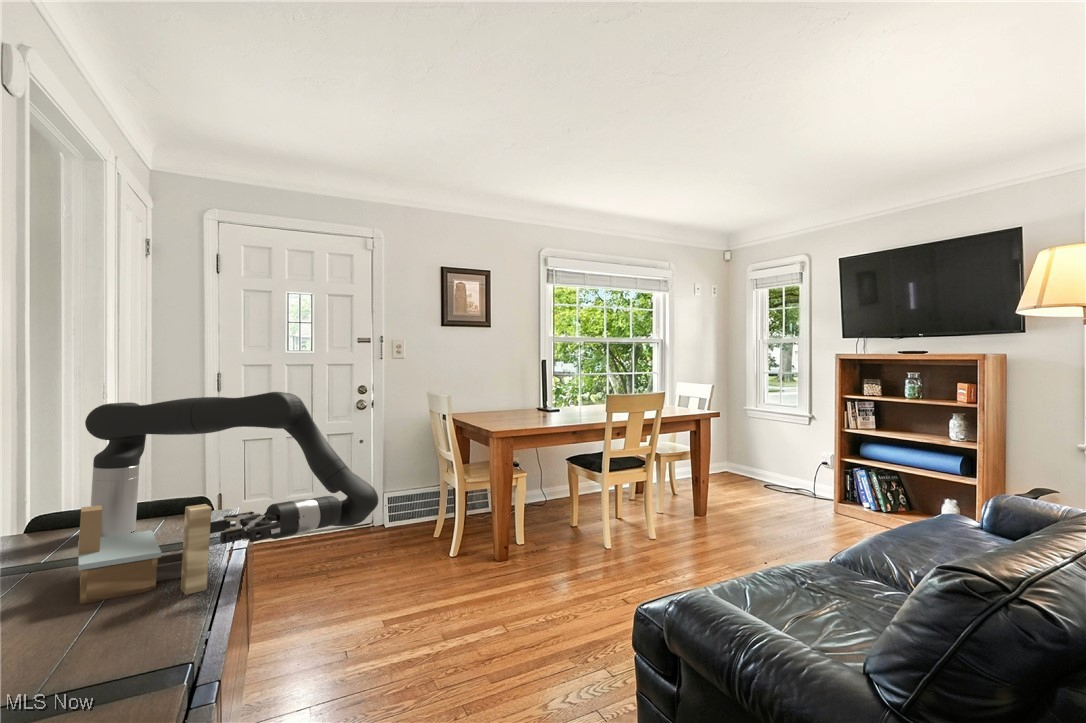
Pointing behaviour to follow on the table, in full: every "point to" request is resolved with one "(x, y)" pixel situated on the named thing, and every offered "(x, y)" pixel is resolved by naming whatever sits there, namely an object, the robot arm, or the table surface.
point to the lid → (111, 543)
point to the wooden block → (195, 548)
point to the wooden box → (127, 577)
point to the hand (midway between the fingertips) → (212, 533)
